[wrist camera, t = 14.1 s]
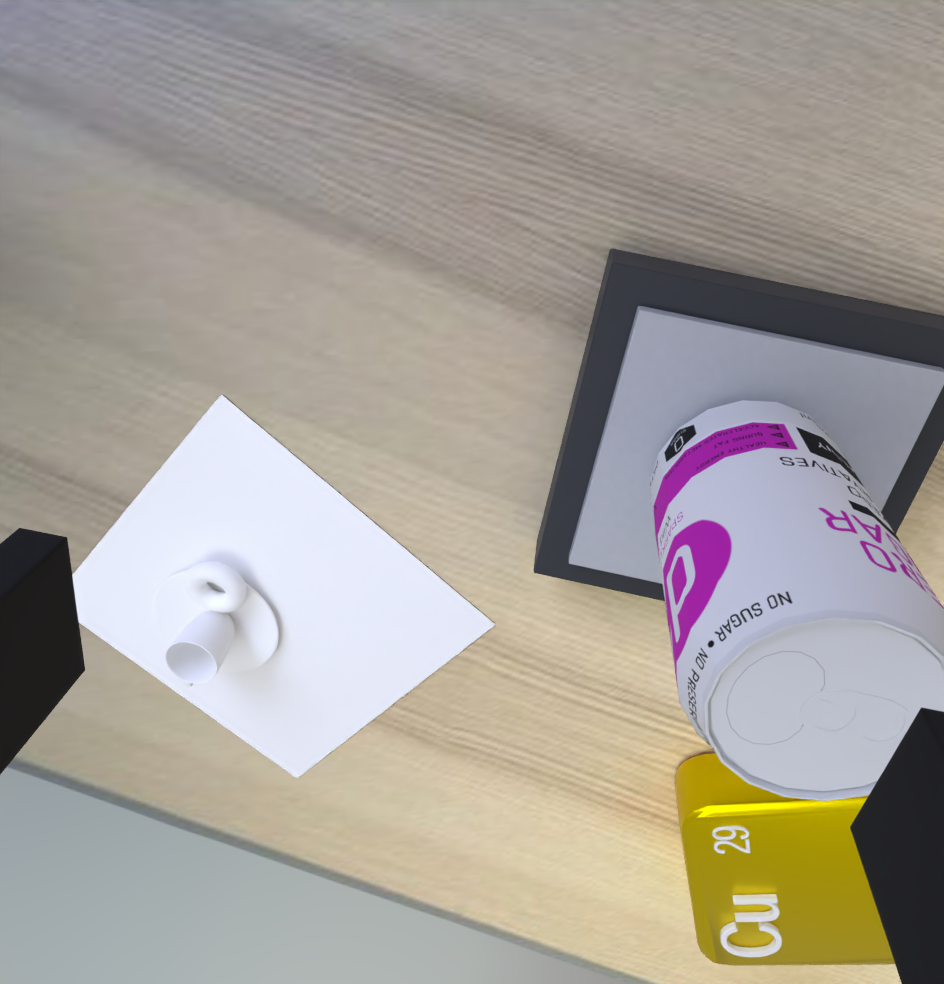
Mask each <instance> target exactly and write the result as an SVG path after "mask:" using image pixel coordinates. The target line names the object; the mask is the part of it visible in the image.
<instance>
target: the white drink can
mask: <svg viewBox="0 0 944 984" xmlns="http://www.w3.org/2000/svg"><path fill="white" fill-rule="evenodd" d="M650 492H651V506H652V514H653V521H654V528H655V535H656V542H657V549H658V556H659V563H660V570H661V577H662V583H663V590H664V597H665V604H666V611H667V618H668V625H669V632H670V639H671V646H672V653H673V660H674V667H675V674H676V681H677V688H678V695H679V702H680V704H681V706H682V708H683V710H684V711H685V713H686V715H687V717H688V718H689V720H690V722H691V724H692V725H693V727H694V729H695V731H696V732H697V734H698V735H699V736H700V737H701V738H702V739H704V740H705V741H706V742H707V743H708V744H709V745H710V746H711V747H712V748H713V749H714V750H715V752H716V754H717V756H718V758H719V759H720V761H721V762H722V763H723V764H724V765H725V766H727V767H728V768H729V769H730V770H732V771H733V772H734V773H735V774H737V775H738V776H739V777H741V778H742V779H743V780H744V781H746V782H747V783H748V784H751V785H754V786H756V787H759V788H762V789H764V790H767V791H770V792H772V793H775V794H777V795H780V796H783V797H790V798H799V799H809V800H818V801H830V800H838V799H845V798H853V797H861V796H867V795H869V794H870V793H871V791H872V789H873V788H874V786H875V784H876V783H877V781H878V779H879V778H880V776H881V774H882V773H883V771H884V769H885V767H886V766H887V764H888V762H889V761H890V759H891V757H892V756H893V754H894V752H895V751H896V749H897V747H898V746H899V744H900V742H901V741H902V739H903V737H904V736H905V734H906V732H907V731H908V729H909V727H910V725H911V724H912V722H913V720H914V719H915V717H916V715H917V714H918V712H919V710H920V709H921V707H922V708H927V709H932V710H937V711H942V712H944V608H943V606H942V605H941V603H940V602H939V600H938V599H937V597H936V595H935V594H934V592H933V591H932V589H931V588H930V586H929V585H928V583H927V582H926V580H925V579H924V577H923V576H922V574H921V573H920V571H919V570H918V568H917V567H916V565H915V564H914V562H913V560H912V559H911V557H910V556H909V554H908V553H907V551H906V550H905V548H904V547H903V545H902V544H901V542H900V541H899V539H898V538H897V536H896V535H895V533H894V532H893V530H892V528H891V527H890V525H889V524H888V522H887V521H886V519H885V518H884V516H883V515H882V513H881V512H880V510H879V509H878V507H877V506H876V504H875V503H874V501H873V500H872V498H871V496H870V495H869V493H868V492H867V490H866V489H865V487H864V486H863V484H862V483H861V481H860V480H859V478H858V477H857V475H856V474H855V472H854V471H853V469H852V468H851V466H850V465H849V463H848V461H847V460H846V458H845V457H844V455H843V454H842V452H841V451H840V449H839V448H838V446H837V445H836V443H835V442H834V440H833V439H832V437H831V436H830V435H829V434H828V433H827V432H826V431H825V430H824V429H823V428H822V427H821V426H820V425H819V424H818V423H817V422H816V421H815V420H814V419H813V418H812V417H810V416H809V415H808V414H806V413H803V412H801V411H798V410H796V409H793V408H791V407H789V406H786V405H784V404H781V403H779V402H767V401H747V400H742V401H738V402H734V403H730V404H726V405H723V406H719V407H715V408H711V409H708V410H706V411H705V412H703V413H702V414H700V415H698V416H697V417H695V418H694V419H692V420H690V421H689V422H687V423H686V424H684V425H683V426H681V427H679V428H678V430H677V431H676V432H675V433H674V435H673V436H672V437H671V438H670V440H669V441H668V442H667V443H666V444H665V446H664V447H663V448H662V449H661V451H660V452H659V454H658V457H657V460H656V463H655V466H654V469H653V472H652V475H651V478H650Z"/></svg>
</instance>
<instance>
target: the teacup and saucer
mask: <svg viewBox="0 0 944 984" xmlns="http://www.w3.org/2000/svg"><path fill="white" fill-rule="evenodd" d="M151 611H152V618H153V622H154V625H155V627H156V630H157V632H158V633H159V635H160V637H161V638H162V640H163V641H164V642H165V643H166V645H167V646H168V647H167V648H166V650H165V652H164V661H165V664H166V666H167V668H168V669H169V671H170V672H171V673H172V674H173V675H174V676H175V677H177V678H178V679H180V680H181V683H182V684H183V685H184V686H186V687H189V688H191V687H192V686H193V685H203V684H207V683H209V682H211V681H212V680H213V679H214V678H215V677H216V676H217V674H220V675H242V674H247V673H250V672H253V671H255V670H257V669H259V668H261V667H262V666H264V665H265V664H266V663H267V662H268V661H269V660H270V659H271V658H272V657H273V655H274V654H275V652H276V650H277V647H278V644H279V638H280V632H279V625H278V621H277V618H276V616H275V614H274V612H273V610H272V608H271V606H270V605H269V604H268V602H267V601H266V600H265V599H264V597H263V596H262V595H261V594H260V593H259V592H258V591H257V590H256V589H254V588H253V587H252V586H251V585H249V584H248V583H246V582H245V580H244V578H243V577H242V576H241V574H240V573H239V572H238V571H236V570H235V569H234V568H233V567H231V566H229V565H228V564H225V563H223V562H220V561H216V560H203V561H200V562H197V563H195V564H194V565H193V566H191V567H190V568H189V569H185V570H181V571H178V572H176V573H174V574H172V575H170V576H169V577H167V578H166V579H165V580H164V581H163V582H162V583H161V584H160V585H159V586H158V588H157V589H156V591H155V593H154V596H153V599H152V606H151Z"/></svg>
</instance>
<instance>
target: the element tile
mask: <svg viewBox="0 0 944 984" xmlns="http://www.w3.org/2000/svg"><path fill="white" fill-rule="evenodd" d="M675 790H676V798H677V806H678V815H679V823H680V831H681V838H682V844H683V851H684V857H685V864H686V871H687V877H688V884H689V890H690V897H691V903H692V910H693V916H694V923H695V930H696V936H697V942H698V945H699V948H700V950H701V952H702V953H703V954H704V955H705V956H706V957H707V958H709V959H710V960H711V961H712V962H714V963H718V964H725V965H862V964H895V961H894V958H893V955H892V952H891V949H890V946H889V943H888V940H887V937H886V934H885V931H884V928H883V925H882V922H881V919H880V916H879V913H878V910H877V907H876V904H875V901H874V898H873V895H872V892H871V889H870V886H869V883H868V880H867V877H866V874H865V871H864V868H863V865H862V862H861V859H860V856H859V853H858V850H857V847H856V844H855V841H854V838H853V835H852V832H851V829H850V826H851V825H852V823H853V821H854V820H855V818H856V816H857V815H858V813H859V811H860V809H861V808H862V806H863V804H864V803H865V801H866V799H867V798H868V796H869V795H867V796H861V797H853V798H845V799H838V800H830V801H818V800H809V799H799V798H790V797H783V796H780V795H777V794H775V793H772V792H770V791H767V790H764V789H762V788H759V787H756V786H754V785H751V784H748V783H747V782H746V781H744V780H743V779H742V778H741V777H739V776H738V775H737V774H735V773H734V772H733V771H732V770H730V769H729V768H728V767H727V766H725V765H724V764H723V763H722V762H721V761H720V759H719V758H718V756H717V754H716V753H709V754H702V755H697V756H695V757H692V758H689V759H687V760H686V761H684V762H683V763H682V764H681V765H680V766H679V768H678V771H677V773H676V775H675Z"/></svg>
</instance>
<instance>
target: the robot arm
mask: <svg viewBox="0 0 944 984" xmlns="http://www.w3.org/2000/svg"><path fill="white" fill-rule="evenodd" d="M84 671H85V666H84V659H83V651H82V644H81V637H80V629H79V622H78V615H77V607H76V600H75V593H74V585H73V578H72V570H71V563H70V556H69V548H68V541H67V537H62V536H57V535H52V534H47V533H42V532H37V531H32V530H27V529H22V528H19V529H18V530H16V531H15V532H14V533H13V534H12V535H10V536H9V537H8V538H7V539H6V540H5V541H3V542H2V543H1V544H0V774H1V773H2V772H3V770H4V769H5V768H6V767H7V765H8V764H9V763H10V762H11V761H12V759H13V758H14V757H15V756H16V754H17V753H18V752H19V751H20V749H21V748H22V747H23V746H24V745H25V743H26V742H27V741H28V740H29V738H30V737H31V736H32V735H33V733H34V732H35V731H36V730H37V728H38V727H39V726H40V725H41V724H42V722H43V721H44V720H45V719H46V717H47V716H48V715H49V714H50V712H51V711H52V710H53V709H54V708H55V706H56V705H57V704H58V703H59V701H60V700H61V699H62V698H63V696H64V695H65V694H66V693H67V692H68V690H69V689H70V688H71V687H72V685H73V684H74V683H75V682H76V680H77V679H78V678H79V677H80V675H81V674H82V673H83V672H84ZM850 829H851V832H852V835H853V838H854V841H855V844H856V847H857V850H858V853H859V856H860V859H861V862H862V865H863V868H864V871H865V874H866V877H867V880H868V883H869V886H870V889H871V892H872V895H873V898H874V901H875V904H876V907H877V910H878V913H879V916H880V919H881V922H882V925H883V928H884V931H885V934H886V937H887V940H888V943H889V946H890V949H891V952H892V955H893V958H894V961H895V964H896V967H897V970H898V973H899V976H900V979H901V982H902V984H944V712H942V711H937V710H932V709H927V708H922V707H921V709H920V710H919V712H918V714H917V715H916V717H915V719H914V720H913V722H912V724H911V725H910V727H909V729H908V731H907V732H906V734H905V736H904V737H903V739H902V741H901V742H900V744H899V746H898V747H897V749H896V751H895V752H894V754H893V756H892V757H891V759H890V761H889V762H888V764H887V766H886V767H885V769H884V771H883V773H882V774H881V776H880V778H879V779H878V781H877V783H876V784H875V786H874V788H873V789H872V791H871V793H870V794H869V796H868V798H867V799H866V801H865V803H864V804H863V806H862V808H861V809H860V811H859V813H858V815H857V816H856V818H855V820H854V821H853V823H852V825H851V826H850Z"/></svg>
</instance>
